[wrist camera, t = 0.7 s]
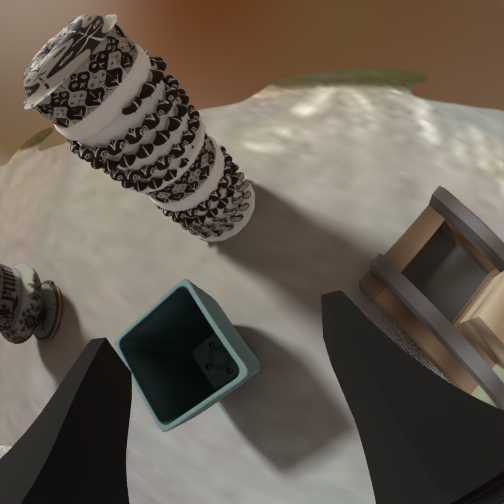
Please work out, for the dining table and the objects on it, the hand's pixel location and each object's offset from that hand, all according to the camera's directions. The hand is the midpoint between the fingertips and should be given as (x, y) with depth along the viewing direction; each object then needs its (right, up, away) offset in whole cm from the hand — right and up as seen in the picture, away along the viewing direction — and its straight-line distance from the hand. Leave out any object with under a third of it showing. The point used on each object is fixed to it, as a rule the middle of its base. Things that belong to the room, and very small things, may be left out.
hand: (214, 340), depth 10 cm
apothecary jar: (-31, -6, +32) cm, 45 cm away
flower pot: (-2, -8, +20) cm, 21 cm away
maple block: (+21, -3, +10) cm, 23 cm away
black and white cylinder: (-2, +8, +25) cm, 27 cm away
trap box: (+24, -6, +10) cm, 27 cm away
